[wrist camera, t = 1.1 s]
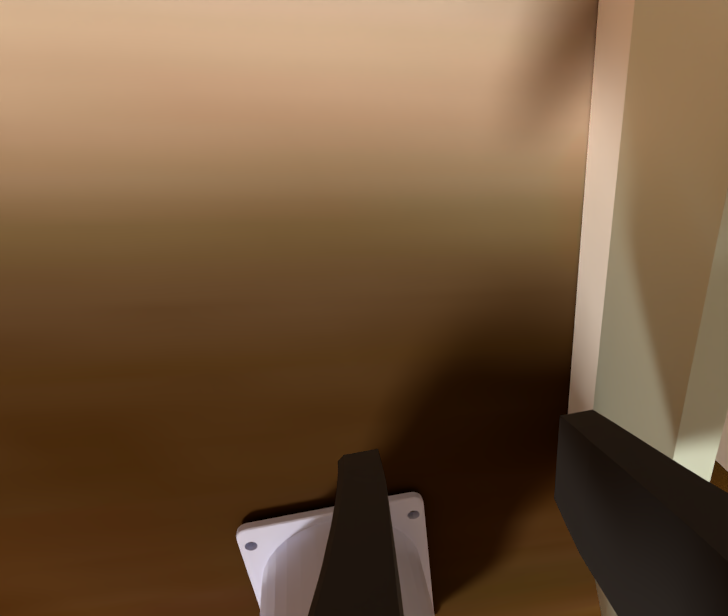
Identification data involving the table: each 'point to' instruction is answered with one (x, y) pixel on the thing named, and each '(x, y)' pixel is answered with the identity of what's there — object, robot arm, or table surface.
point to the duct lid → (670, 240)
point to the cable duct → (603, 200)
